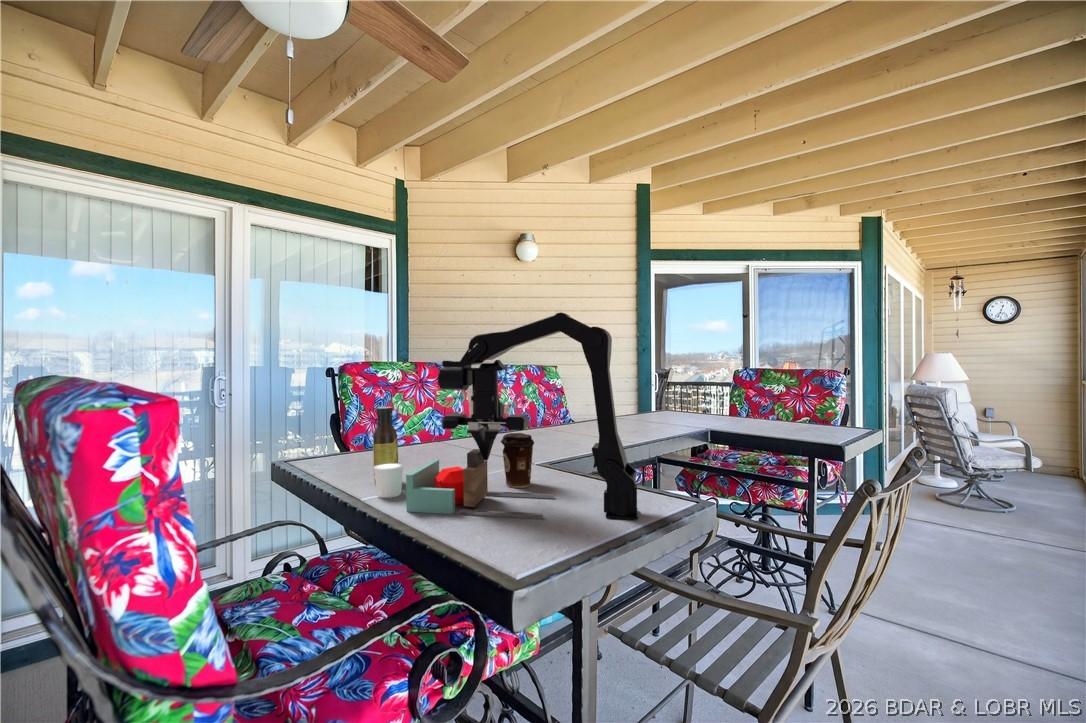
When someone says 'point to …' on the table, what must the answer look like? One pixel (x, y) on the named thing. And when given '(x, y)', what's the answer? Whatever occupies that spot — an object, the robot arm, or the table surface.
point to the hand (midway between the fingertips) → (486, 459)
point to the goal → (428, 491)
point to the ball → (451, 482)
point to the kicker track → (509, 514)
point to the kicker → (475, 478)
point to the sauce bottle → (385, 438)
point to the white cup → (388, 479)
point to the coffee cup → (517, 459)
